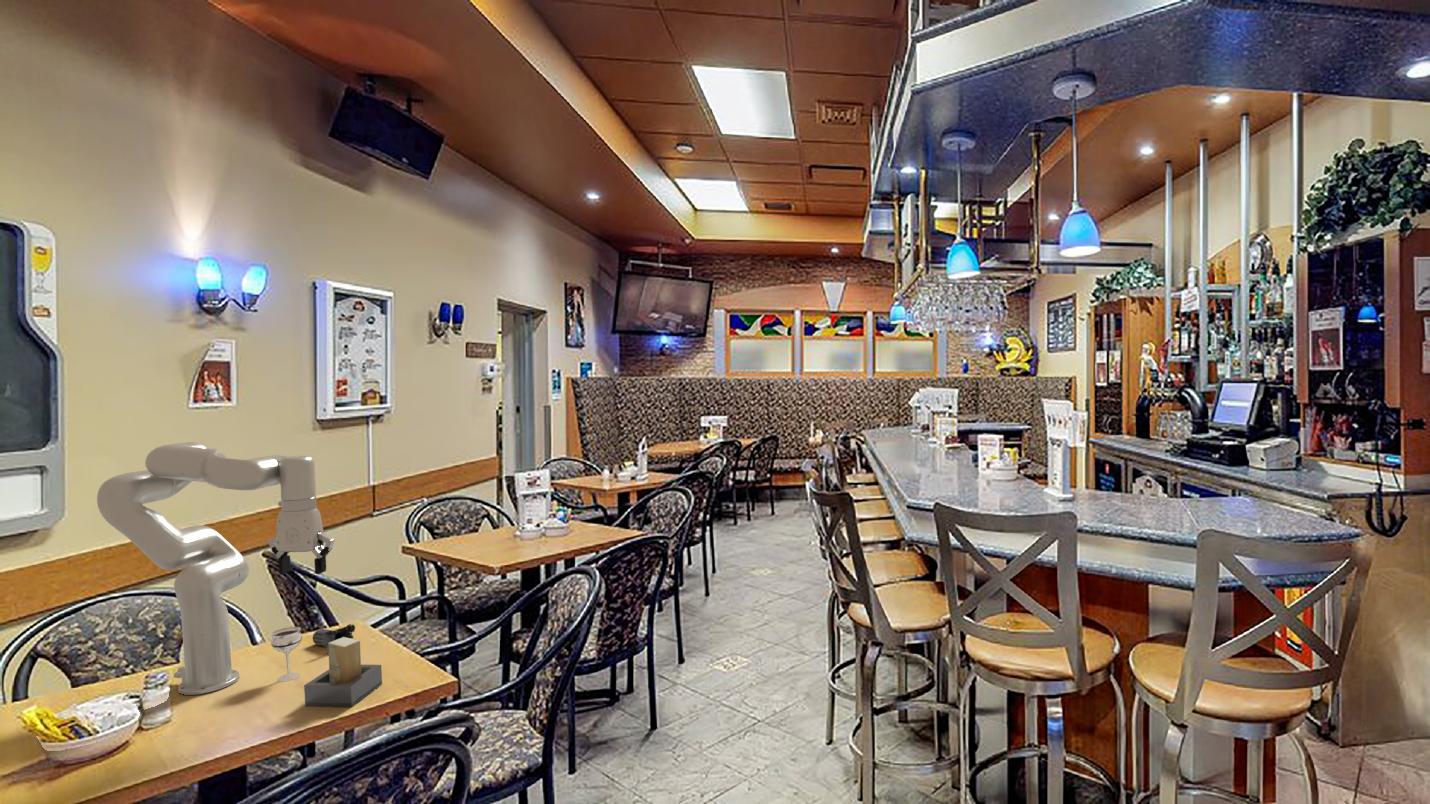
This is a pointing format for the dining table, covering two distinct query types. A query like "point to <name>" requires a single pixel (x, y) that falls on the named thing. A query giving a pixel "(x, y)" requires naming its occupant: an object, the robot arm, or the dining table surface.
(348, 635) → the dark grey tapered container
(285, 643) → the wineglass
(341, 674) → the skincare box
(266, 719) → the dining table surface
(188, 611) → the robot arm
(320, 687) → the rectangular box socket
